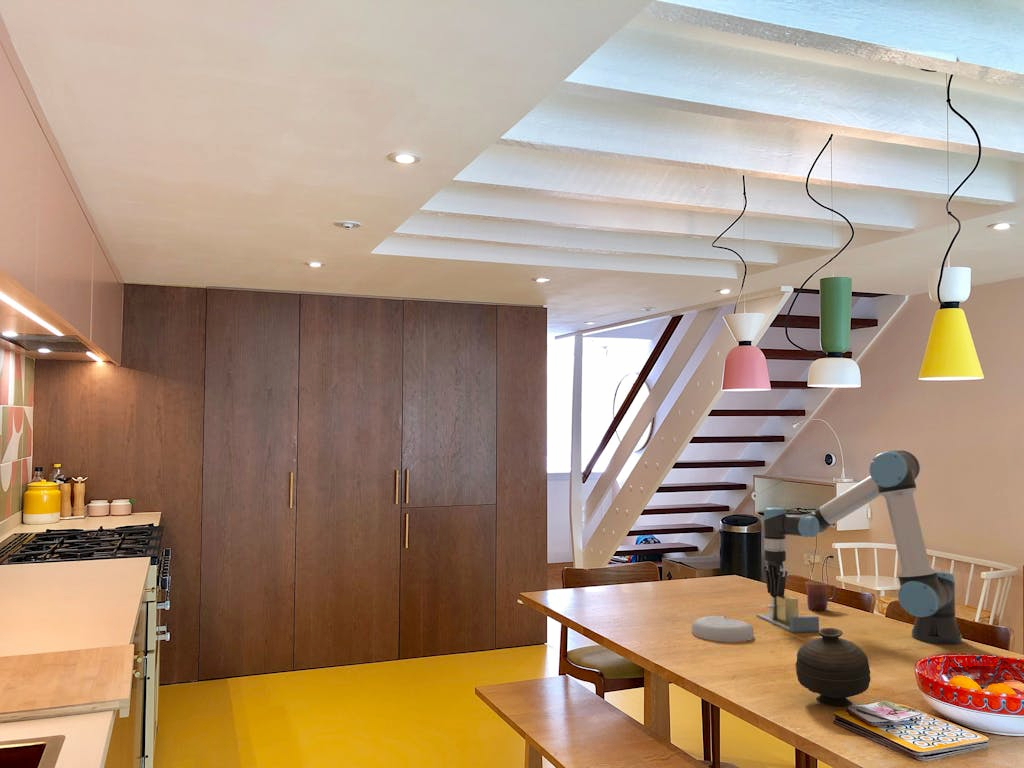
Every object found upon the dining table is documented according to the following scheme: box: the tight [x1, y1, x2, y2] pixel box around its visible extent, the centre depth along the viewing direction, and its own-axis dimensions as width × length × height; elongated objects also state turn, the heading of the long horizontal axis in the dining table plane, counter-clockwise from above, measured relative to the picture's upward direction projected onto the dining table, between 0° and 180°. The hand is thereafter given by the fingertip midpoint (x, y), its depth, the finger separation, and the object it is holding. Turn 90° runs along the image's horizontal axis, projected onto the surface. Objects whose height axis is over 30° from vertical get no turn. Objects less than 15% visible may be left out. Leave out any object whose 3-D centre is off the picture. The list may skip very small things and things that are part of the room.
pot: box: [794, 627, 871, 708], centre depth 212 cm, size 18×18×20 cm
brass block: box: [777, 595, 799, 625], centre depth 298 cm, size 6×5×9 cm
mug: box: [804, 580, 838, 612], centre depth 327 cm, size 12×9×10 cm
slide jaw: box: [766, 604, 777, 620], centre depth 303 cm, size 2×9×5 cm, turn 102°
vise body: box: [756, 613, 820, 633], centre depth 299 cm, size 25×10×6 cm, turn 12°
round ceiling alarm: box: [691, 615, 755, 643], centre depth 282 cm, size 25×25×6 cm
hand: (776, 614), depth 306 cm, fingers closed
